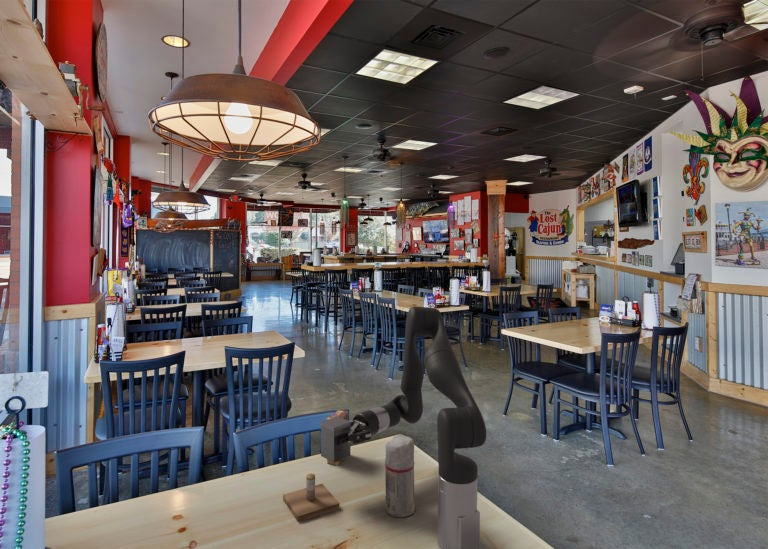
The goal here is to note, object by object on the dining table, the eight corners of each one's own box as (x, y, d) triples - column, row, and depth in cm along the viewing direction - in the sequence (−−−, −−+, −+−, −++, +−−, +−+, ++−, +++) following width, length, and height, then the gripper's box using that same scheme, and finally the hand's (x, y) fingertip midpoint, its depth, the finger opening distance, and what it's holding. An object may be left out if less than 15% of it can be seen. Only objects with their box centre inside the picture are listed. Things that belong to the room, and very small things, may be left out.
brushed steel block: (350, 455, 126) (350, 421, 126) (334, 463, 122) (333, 427, 122) (337, 449, 131) (337, 416, 130) (320, 455, 126) (320, 421, 126)
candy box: (337, 452, 155) (337, 409, 154) (348, 454, 153) (348, 411, 153) (325, 463, 146) (325, 418, 146) (337, 465, 145) (337, 420, 144)
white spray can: (412, 520, 115) (413, 446, 114) (382, 517, 117) (382, 443, 116) (417, 503, 123) (417, 433, 123) (388, 499, 125) (388, 430, 124)
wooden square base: (339, 508, 121) (339, 479, 120) (297, 522, 114) (297, 491, 114) (322, 488, 131) (322, 461, 131) (283, 499, 125) (282, 471, 124)
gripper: (356, 404, 141) (313, 418, 129) (388, 416, 131) (345, 432, 119) (356, 427, 141) (313, 443, 129) (388, 440, 131) (345, 459, 119)
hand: (328, 438), depth 124 cm, fingers closed on brushed steel block, 6 cm apart
